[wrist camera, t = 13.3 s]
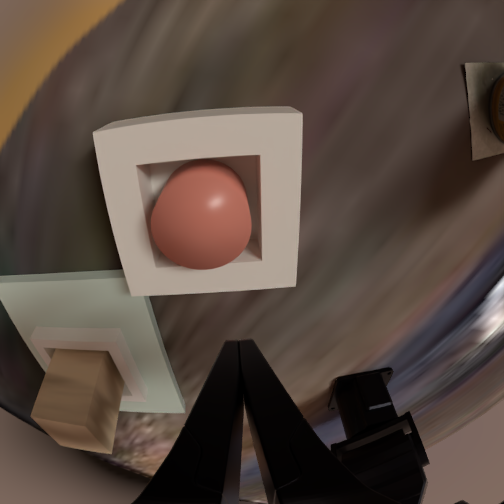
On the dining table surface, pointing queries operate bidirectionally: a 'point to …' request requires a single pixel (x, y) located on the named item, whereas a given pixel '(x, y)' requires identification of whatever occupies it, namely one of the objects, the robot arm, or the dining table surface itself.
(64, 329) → the tray
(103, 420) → the block
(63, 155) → the dining table surface
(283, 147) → the button housing
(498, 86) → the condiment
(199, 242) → the button
